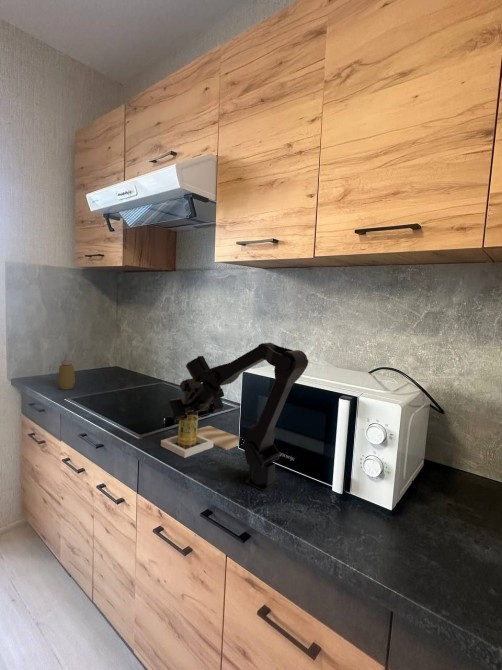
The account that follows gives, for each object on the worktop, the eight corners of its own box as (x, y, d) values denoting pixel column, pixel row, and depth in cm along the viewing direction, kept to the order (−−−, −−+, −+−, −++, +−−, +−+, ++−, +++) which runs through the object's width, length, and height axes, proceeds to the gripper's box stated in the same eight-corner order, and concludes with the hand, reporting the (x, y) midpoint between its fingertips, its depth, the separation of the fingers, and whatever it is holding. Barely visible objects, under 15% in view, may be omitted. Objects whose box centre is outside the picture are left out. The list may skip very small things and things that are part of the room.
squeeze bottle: (76, 386, 191) (76, 353, 189) (73, 390, 183) (74, 355, 182) (59, 386, 188) (59, 352, 187) (56, 390, 181) (56, 355, 179)
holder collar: (213, 447, 122) (213, 441, 122) (184, 457, 113) (184, 451, 112) (189, 436, 130) (189, 431, 130) (160, 446, 120) (161, 440, 120)
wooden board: (247, 441, 128) (247, 440, 128) (225, 450, 120) (226, 448, 120) (208, 427, 141) (208, 425, 141) (187, 433, 133) (187, 432, 133)
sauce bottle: (178, 451, 117) (180, 391, 116) (176, 443, 123) (178, 387, 122) (198, 449, 119) (200, 391, 117) (195, 442, 125) (197, 386, 123)
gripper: (220, 370, 122) (201, 394, 131) (170, 374, 110) (153, 401, 119) (233, 398, 117) (212, 421, 126) (182, 406, 105) (163, 431, 114)
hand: (186, 417), depth 122 cm, fingers closed on sauce bottle, 6 cm apart
